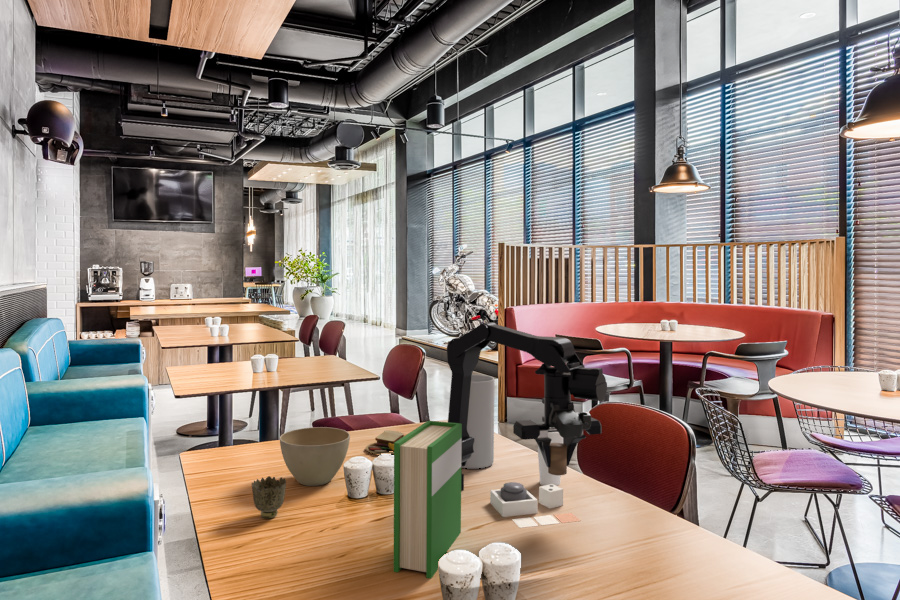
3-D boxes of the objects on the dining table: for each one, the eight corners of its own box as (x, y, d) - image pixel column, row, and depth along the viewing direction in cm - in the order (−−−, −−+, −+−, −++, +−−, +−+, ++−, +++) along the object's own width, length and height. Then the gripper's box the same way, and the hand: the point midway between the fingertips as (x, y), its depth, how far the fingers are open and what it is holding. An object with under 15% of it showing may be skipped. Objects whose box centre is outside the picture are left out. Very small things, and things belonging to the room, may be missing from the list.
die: (549, 509, 134) (550, 491, 134) (538, 503, 137) (539, 486, 137) (563, 505, 136) (563, 488, 136) (551, 500, 139) (552, 483, 139)
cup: (292, 512, 133) (292, 478, 132) (273, 525, 126) (272, 489, 125) (265, 508, 135) (265, 474, 135) (244, 520, 128) (244, 485, 128)
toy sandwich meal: (357, 452, 180) (357, 437, 179) (385, 442, 191) (385, 428, 191) (388, 459, 173) (388, 444, 173) (415, 448, 184) (415, 434, 184)
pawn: (552, 476, 124) (552, 448, 124) (545, 470, 128) (545, 443, 128) (569, 474, 125) (569, 447, 125) (561, 468, 129) (561, 442, 129)
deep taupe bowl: (299, 499, 141) (299, 449, 140) (268, 479, 154) (268, 434, 154) (362, 482, 153) (362, 436, 152) (328, 465, 166) (328, 423, 166)
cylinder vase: (501, 461, 171) (501, 377, 170) (480, 472, 161) (481, 383, 160) (464, 453, 178) (465, 373, 177) (442, 464, 167) (443, 379, 166)
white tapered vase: (562, 491, 147) (563, 433, 146) (536, 489, 148) (536, 431, 148) (563, 482, 153) (564, 426, 153) (537, 480, 155) (538, 425, 154)
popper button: (505, 513, 130) (506, 491, 130) (496, 503, 136) (496, 482, 136) (530, 510, 132) (530, 489, 132) (520, 500, 138) (520, 480, 137)
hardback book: (431, 578, 104) (432, 446, 103) (393, 571, 106) (394, 442, 105) (460, 537, 121) (461, 423, 120) (427, 532, 123) (428, 420, 122)
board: (513, 535, 121) (514, 517, 121) (488, 506, 137) (488, 490, 137) (590, 526, 126) (591, 508, 126) (558, 499, 142) (558, 483, 142)
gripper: (531, 405, 116) (531, 482, 117) (614, 400, 121) (614, 474, 121) (512, 395, 127) (512, 465, 128) (589, 391, 132) (589, 458, 132)
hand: (557, 466), depth 127 cm, fingers closed on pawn, 4 cm apart
